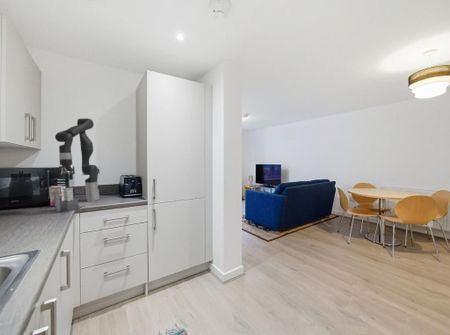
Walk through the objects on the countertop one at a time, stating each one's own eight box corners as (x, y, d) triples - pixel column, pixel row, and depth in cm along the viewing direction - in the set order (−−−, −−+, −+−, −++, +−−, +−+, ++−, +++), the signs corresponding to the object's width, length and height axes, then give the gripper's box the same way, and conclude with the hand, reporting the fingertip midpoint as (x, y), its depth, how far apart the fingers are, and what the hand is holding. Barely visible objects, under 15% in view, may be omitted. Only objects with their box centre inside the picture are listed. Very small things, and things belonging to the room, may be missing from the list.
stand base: (73, 206, 162) (72, 198, 161) (84, 207, 157) (84, 199, 157) (53, 211, 149) (52, 202, 148) (65, 212, 144) (64, 203, 143)
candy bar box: (49, 206, 163) (48, 187, 162) (55, 204, 168) (54, 185, 167) (62, 206, 162) (60, 187, 161) (67, 204, 167) (66, 186, 166)
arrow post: (62, 210, 149) (60, 190, 148) (64, 211, 148) (62, 190, 147) (55, 212, 145) (53, 191, 144) (57, 212, 144) (55, 191, 143)
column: (71, 206, 156) (69, 187, 155) (74, 207, 155) (73, 187, 153) (64, 208, 151) (62, 188, 150) (67, 209, 150) (66, 188, 148)
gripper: (77, 158, 151) (78, 179, 152) (65, 158, 156) (66, 178, 157) (66, 158, 144) (68, 180, 145) (54, 158, 149) (55, 179, 150)
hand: (67, 179), depth 151 cm, fingers open, 8 cm apart
